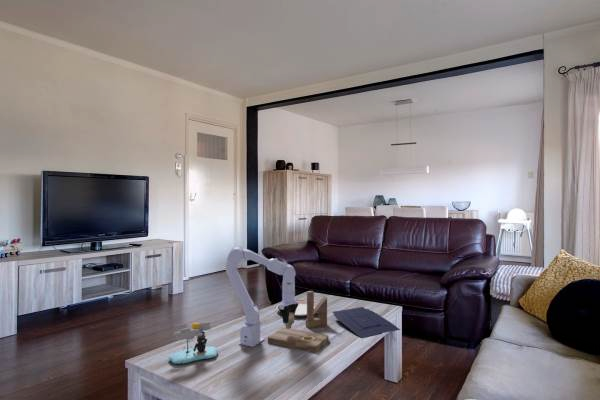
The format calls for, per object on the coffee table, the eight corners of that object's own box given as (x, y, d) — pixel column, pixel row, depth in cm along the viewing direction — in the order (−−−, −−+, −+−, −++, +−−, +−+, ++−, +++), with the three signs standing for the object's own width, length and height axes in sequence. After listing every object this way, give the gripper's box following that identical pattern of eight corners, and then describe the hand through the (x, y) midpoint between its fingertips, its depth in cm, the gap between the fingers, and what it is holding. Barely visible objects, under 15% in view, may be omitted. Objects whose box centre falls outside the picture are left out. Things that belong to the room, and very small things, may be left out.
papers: (365, 311, 214) (365, 304, 213) (400, 334, 187) (401, 327, 186) (328, 317, 203) (328, 310, 202) (360, 343, 176) (360, 336, 176)
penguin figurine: (216, 349, 164) (216, 314, 163) (221, 359, 154) (221, 322, 154) (168, 357, 156) (167, 320, 156) (169, 367, 146) (169, 329, 146)
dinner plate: (305, 323, 198) (305, 316, 198) (266, 313, 214) (266, 307, 214) (333, 310, 220) (333, 304, 219) (296, 302, 236) (296, 296, 236)
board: (316, 352, 160) (316, 346, 160) (267, 342, 171) (267, 337, 171) (328, 340, 173) (328, 335, 173) (282, 332, 183) (282, 327, 183)
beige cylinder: (290, 330, 170) (290, 316, 170) (280, 328, 173) (280, 314, 173) (296, 326, 175) (296, 312, 175) (286, 325, 177) (286, 311, 177)
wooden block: (327, 325, 193) (327, 290, 193) (308, 328, 189) (308, 292, 189) (324, 323, 197) (324, 289, 196) (305, 326, 192) (305, 291, 192)
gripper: (289, 296, 165) (288, 327, 165) (303, 288, 178) (303, 317, 179) (275, 294, 168) (275, 324, 169) (290, 287, 181) (289, 315, 182)
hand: (288, 320), depth 174 cm, fingers closed on beige cylinder, 5 cm apart
